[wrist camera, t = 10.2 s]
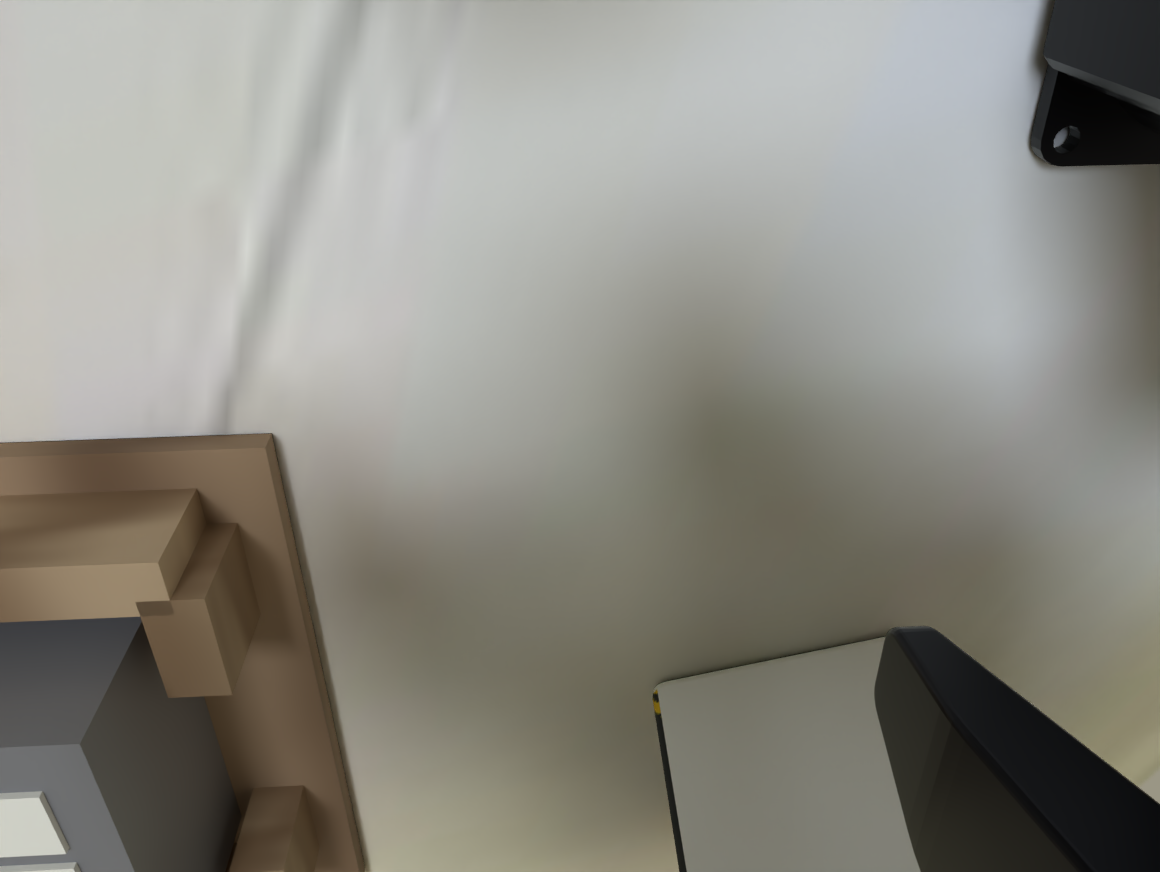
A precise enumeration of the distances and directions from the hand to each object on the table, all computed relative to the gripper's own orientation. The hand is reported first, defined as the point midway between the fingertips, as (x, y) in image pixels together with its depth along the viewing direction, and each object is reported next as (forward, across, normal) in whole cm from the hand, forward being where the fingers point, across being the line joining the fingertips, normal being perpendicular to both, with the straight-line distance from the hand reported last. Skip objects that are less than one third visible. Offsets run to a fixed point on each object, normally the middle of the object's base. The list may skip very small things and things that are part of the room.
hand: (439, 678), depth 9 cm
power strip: (+11, +10, +12) cm, 19 cm away
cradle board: (+12, +10, +12) cm, 19 cm away
